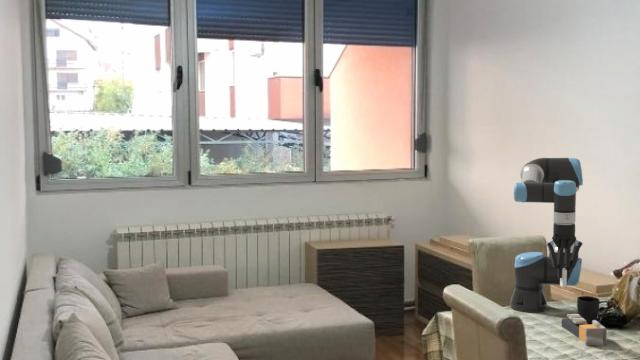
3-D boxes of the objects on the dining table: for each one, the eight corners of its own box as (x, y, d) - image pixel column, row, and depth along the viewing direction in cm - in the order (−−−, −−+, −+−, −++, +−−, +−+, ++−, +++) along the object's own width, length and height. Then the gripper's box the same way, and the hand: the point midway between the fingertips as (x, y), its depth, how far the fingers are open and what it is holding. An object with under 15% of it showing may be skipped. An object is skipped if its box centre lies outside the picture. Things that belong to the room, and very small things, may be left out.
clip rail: (565, 326, 271) (566, 311, 271) (583, 326, 271) (584, 311, 271) (586, 345, 250) (586, 329, 249) (606, 345, 250) (606, 328, 249)
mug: (610, 327, 269) (611, 303, 268) (577, 324, 273) (577, 301, 272) (608, 320, 277) (608, 297, 276) (576, 318, 281) (576, 295, 280)
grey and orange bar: (561, 326, 272) (561, 313, 271) (573, 325, 272) (574, 313, 272) (585, 342, 253) (586, 329, 252) (598, 342, 253) (599, 328, 253)
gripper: (549, 225, 251) (548, 289, 253) (586, 224, 251) (584, 288, 253) (543, 221, 258) (542, 284, 261) (578, 221, 258) (577, 283, 261)
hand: (563, 286), depth 257 cm, fingers closed
